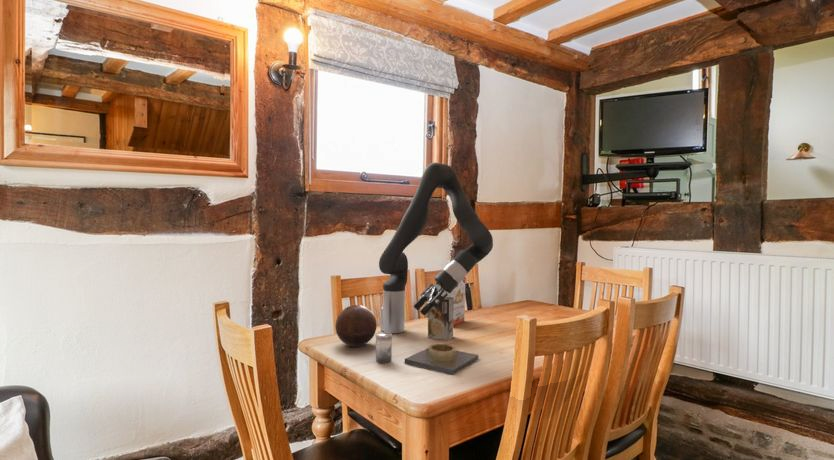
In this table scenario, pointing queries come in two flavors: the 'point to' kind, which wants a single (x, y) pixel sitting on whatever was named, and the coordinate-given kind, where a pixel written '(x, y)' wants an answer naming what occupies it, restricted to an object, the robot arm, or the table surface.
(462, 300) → the cracker box
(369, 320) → the wooden sphere
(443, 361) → the square base with socket
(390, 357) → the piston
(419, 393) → the table surface
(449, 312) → the coffee box
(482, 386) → the table surface
